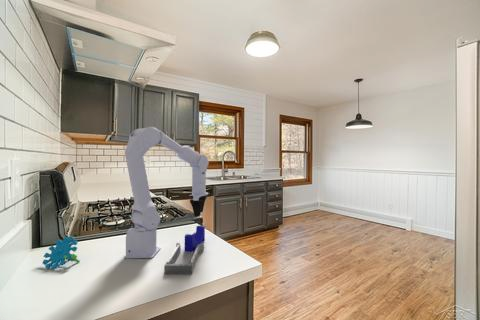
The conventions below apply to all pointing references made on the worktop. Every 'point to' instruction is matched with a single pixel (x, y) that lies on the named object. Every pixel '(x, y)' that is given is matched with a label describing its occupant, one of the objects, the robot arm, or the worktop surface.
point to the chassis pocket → (182, 268)
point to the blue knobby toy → (61, 253)
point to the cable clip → (194, 239)
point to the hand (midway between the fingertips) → (198, 214)
